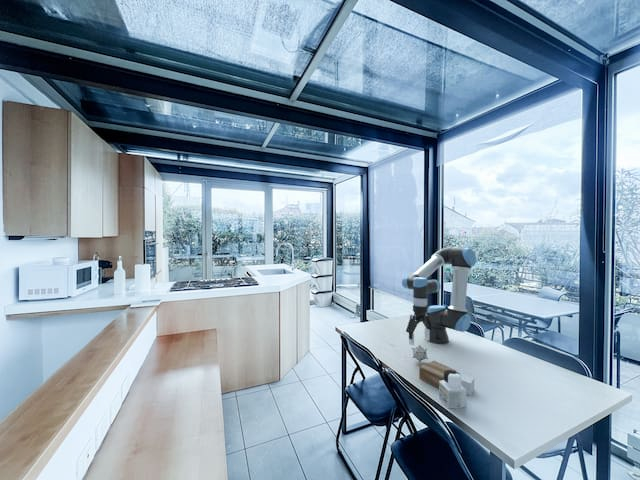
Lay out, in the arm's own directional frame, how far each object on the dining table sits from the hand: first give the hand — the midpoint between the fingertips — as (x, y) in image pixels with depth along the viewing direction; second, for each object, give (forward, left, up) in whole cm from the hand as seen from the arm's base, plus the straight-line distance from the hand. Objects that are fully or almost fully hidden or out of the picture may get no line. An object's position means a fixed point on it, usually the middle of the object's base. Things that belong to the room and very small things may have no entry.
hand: (419, 342), depth 148 cm
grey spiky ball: (0, 0, -12) cm, 12 cm away
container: (+19, +31, -12) cm, 38 cm away
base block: (+9, +17, -11) cm, 22 cm away
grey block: (+6, +29, -11) cm, 32 cm away
